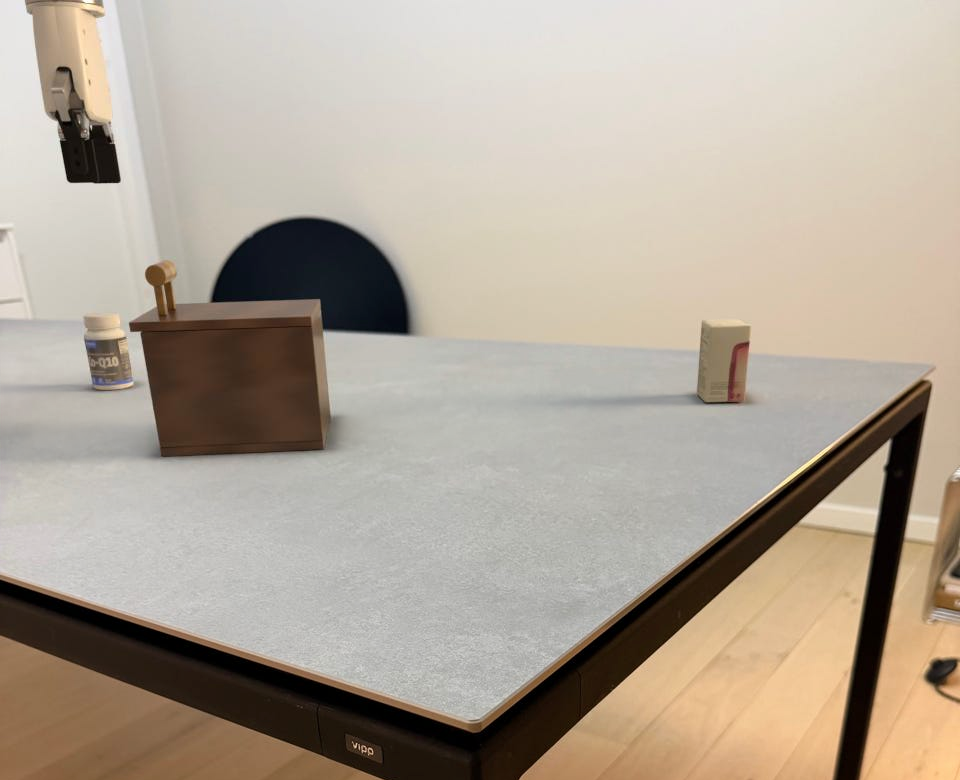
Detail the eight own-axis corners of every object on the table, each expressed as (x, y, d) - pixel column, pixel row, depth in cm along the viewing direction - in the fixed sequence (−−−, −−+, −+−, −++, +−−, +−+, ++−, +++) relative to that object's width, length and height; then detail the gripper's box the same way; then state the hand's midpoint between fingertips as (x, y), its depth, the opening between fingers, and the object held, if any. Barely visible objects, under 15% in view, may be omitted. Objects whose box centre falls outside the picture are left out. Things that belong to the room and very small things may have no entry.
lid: (130, 332, 81) (119, 269, 79) (161, 312, 92) (152, 257, 90) (312, 325, 82) (306, 263, 80) (320, 307, 93) (315, 253, 91)
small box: (745, 402, 100) (753, 324, 97) (704, 403, 101) (710, 325, 97) (734, 393, 105) (741, 318, 101) (695, 393, 105) (701, 319, 102)
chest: (161, 456, 86) (139, 332, 81) (187, 423, 97) (169, 313, 92) (323, 449, 87) (312, 326, 82) (330, 418, 98) (320, 308, 93)
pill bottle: (87, 390, 114) (72, 317, 110) (102, 382, 118) (88, 311, 114) (126, 390, 113) (112, 316, 110) (140, 382, 118) (127, 311, 114)
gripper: (50, 11, 105) (81, 184, 112) (-5, -20, 89) (35, 183, 96) (120, 11, 105) (146, 182, 113) (78, -20, 90) (111, 182, 97)
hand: (95, 182), depth 104 cm, fingers open, 9 cm apart
